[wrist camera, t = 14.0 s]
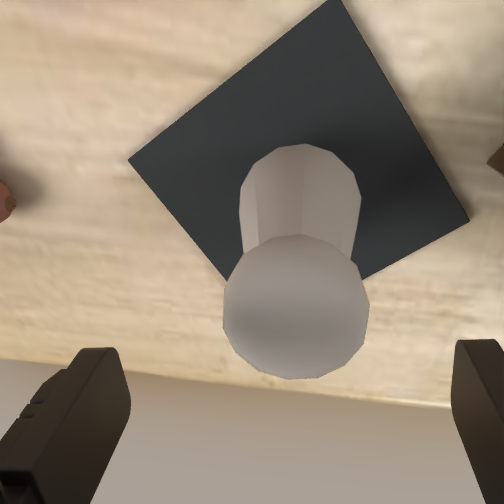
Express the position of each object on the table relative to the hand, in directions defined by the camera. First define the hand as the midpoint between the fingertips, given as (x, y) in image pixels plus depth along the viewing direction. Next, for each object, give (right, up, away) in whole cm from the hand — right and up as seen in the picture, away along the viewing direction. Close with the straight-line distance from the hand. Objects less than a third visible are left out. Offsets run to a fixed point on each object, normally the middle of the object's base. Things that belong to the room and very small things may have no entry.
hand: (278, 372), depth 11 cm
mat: (+2, +6, +14) cm, 15 cm away
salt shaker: (+2, +6, +13) cm, 15 cm away
